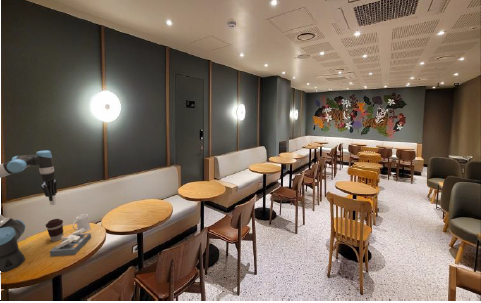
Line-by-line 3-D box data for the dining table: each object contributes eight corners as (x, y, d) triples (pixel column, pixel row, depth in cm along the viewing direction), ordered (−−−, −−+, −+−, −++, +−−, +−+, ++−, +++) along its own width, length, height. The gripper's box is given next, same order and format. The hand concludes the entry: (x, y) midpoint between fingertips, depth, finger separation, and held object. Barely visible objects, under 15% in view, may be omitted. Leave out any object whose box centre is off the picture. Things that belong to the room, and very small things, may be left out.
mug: (76, 235, 170) (74, 221, 168) (70, 233, 174) (68, 219, 171) (92, 228, 180) (90, 215, 178) (86, 226, 184) (84, 213, 182)
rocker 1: (56, 249, 147) (54, 246, 146) (61, 245, 151) (59, 242, 151) (70, 242, 147) (68, 240, 146) (74, 238, 151) (72, 236, 151)
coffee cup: (49, 237, 167) (46, 219, 164) (66, 233, 173) (63, 216, 170) (47, 244, 159) (43, 225, 156) (64, 239, 164) (61, 221, 162)
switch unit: (50, 256, 145) (49, 249, 144) (70, 239, 165) (69, 233, 164) (74, 254, 147) (73, 247, 146) (91, 237, 167) (90, 231, 166)
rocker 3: (68, 238, 158) (66, 236, 158) (72, 235, 163) (70, 232, 162) (81, 233, 159) (79, 230, 158) (84, 230, 163) (83, 227, 163)
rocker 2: (60, 239, 152) (61, 236, 152) (65, 235, 156) (65, 232, 156) (75, 242, 153) (76, 239, 153) (79, 238, 158) (80, 236, 157)
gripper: (46, 175, 145) (52, 208, 149) (59, 170, 157) (65, 200, 162) (33, 175, 144) (40, 208, 148) (48, 170, 157) (54, 201, 161)
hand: (53, 204), depth 155 cm, fingers closed
